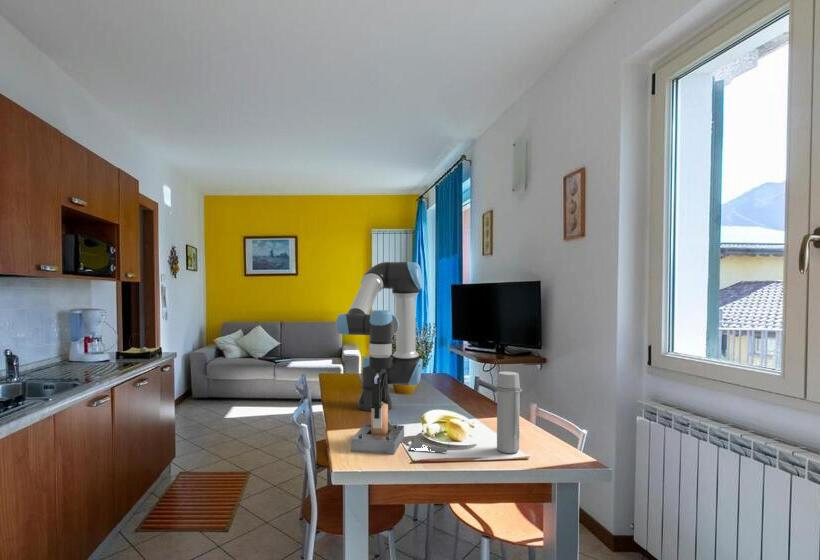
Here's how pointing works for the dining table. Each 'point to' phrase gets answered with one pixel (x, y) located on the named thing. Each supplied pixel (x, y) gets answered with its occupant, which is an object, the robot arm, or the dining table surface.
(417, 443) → the pad
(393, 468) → the dining table surface
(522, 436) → the dining table surface
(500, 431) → the water bottle
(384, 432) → the tan cylinder
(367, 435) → the housing
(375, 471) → the dining table surface
